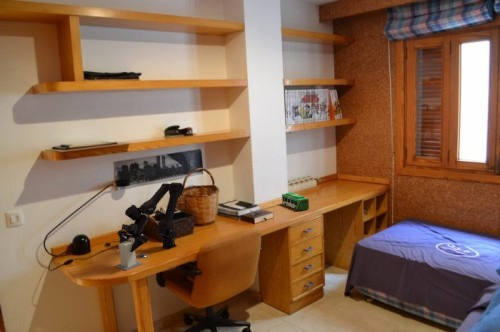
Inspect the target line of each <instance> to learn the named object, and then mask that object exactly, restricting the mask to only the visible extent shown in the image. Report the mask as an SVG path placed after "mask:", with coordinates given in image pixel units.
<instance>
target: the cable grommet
mask: <svg viewBox="0 0 500 332" xmlns="http://www.w3.org/2000/svg"><path fill="white" fill-rule="evenodd" d="M147 257H148V253H140V254H137V255H136V259H144V258H147Z"/></svg>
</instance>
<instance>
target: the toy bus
mask: <svg viewBox="0 0 500 332" xmlns="http://www.w3.org/2000/svg"><path fill="white" fill-rule="evenodd" d="M281 198H282V199H281V201H282V205H284V206H285V207H290V208H292V209H294V210H295V211H301V212H302V211H305V210H309V209H310V202H309V201H310V200H309V198H308V197H305V196H304V195H301V194H298V193H295V192H292V191H290V192H286V193H281Z"/></svg>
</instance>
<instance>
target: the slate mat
mask: <svg viewBox="0 0 500 332" xmlns="http://www.w3.org/2000/svg"><path fill="white" fill-rule="evenodd" d="M142 265H143V262H140V261H137V260H136V264H134V265H132V266H130V267H125V266H121V263H119V264H116V265H115V266H114V267H115V268H118V269H120V270H123V271H129V270H131V269H134V268H136V267H139V266H142Z"/></svg>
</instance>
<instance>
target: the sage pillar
mask: <svg viewBox="0 0 500 332" xmlns="http://www.w3.org/2000/svg"><path fill="white" fill-rule="evenodd" d="M119 243H120V242H119ZM119 243H118V250H119V251H118V252H119V257H120V258H119V259H120V264H121V266H125V267H130V266H132V265H134V264H136V261H137V255H136V250H134V251H133V252H132V253H131V252H130V250H131V248H132V246H133V244H134V242H132V241H125V242H122V243H120V244H119Z"/></svg>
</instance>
